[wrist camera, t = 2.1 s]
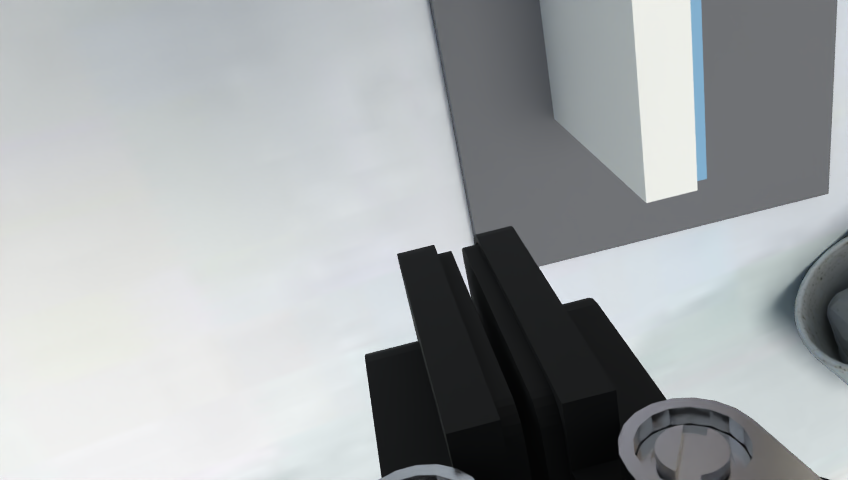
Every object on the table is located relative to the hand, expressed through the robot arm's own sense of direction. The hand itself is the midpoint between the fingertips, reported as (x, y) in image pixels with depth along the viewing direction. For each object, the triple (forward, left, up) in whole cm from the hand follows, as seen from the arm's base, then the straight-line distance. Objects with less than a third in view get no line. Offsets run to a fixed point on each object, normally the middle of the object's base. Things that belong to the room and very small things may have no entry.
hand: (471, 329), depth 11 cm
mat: (+3, +11, -20) cm, 23 cm away
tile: (0, +8, -20) cm, 21 cm away
